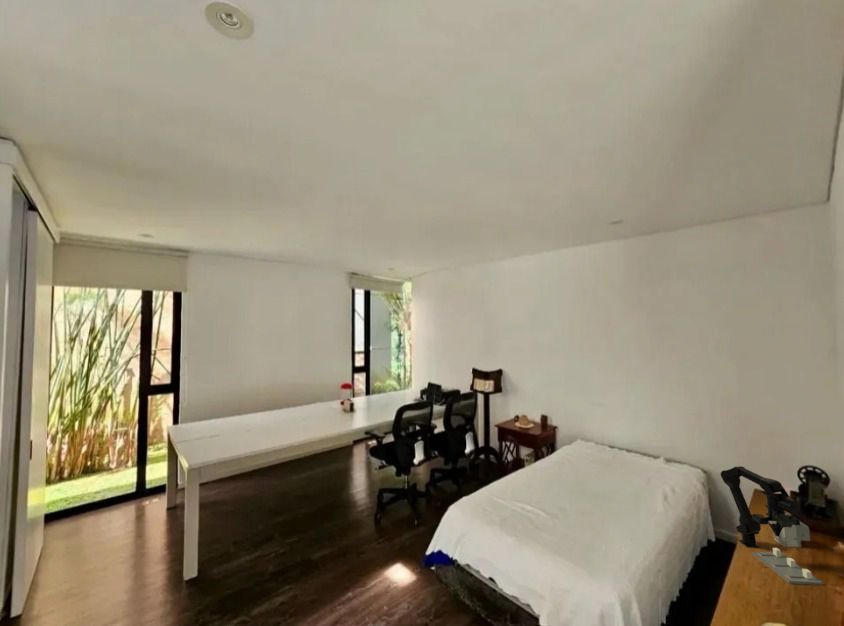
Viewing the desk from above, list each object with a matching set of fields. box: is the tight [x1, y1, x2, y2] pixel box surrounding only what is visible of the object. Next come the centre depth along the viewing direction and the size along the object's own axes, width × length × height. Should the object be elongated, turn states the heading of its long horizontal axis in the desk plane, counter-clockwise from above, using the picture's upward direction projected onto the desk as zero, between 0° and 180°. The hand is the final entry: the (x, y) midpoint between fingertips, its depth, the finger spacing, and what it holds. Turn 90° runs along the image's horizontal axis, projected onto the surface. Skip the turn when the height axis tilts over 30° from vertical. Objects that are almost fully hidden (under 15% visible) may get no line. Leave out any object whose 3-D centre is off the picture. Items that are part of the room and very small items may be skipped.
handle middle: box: [787, 557, 796, 567], centre depth 187 cm, size 2×2×3 cm
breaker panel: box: [751, 551, 824, 586], centre depth 187 cm, size 24×14×1 cm, turn 172°
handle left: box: [772, 547, 782, 557], centre depth 196 cm, size 2×2×3 cm
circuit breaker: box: [773, 512, 811, 548], centre depth 209 cm, size 8×14×15 cm, turn 78°
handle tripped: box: [802, 568, 813, 579], centre depth 178 cm, size 2×2×3 cm
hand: (777, 536), depth 194 cm, fingers closed
